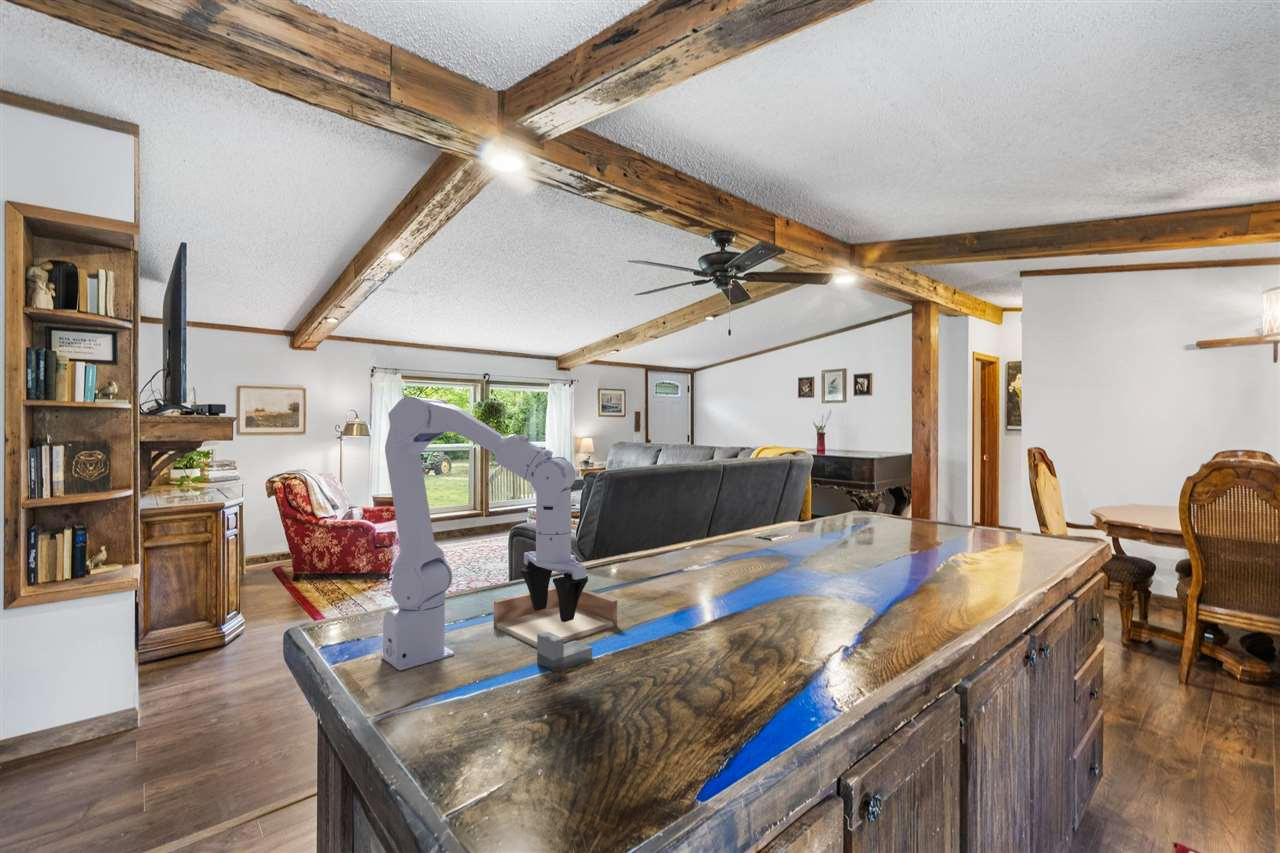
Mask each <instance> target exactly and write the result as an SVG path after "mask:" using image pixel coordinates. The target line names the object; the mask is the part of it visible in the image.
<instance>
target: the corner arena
mask: <svg viewBox="0 0 1280 853" xmlns="http://www.w3.org/2000/svg"><path fill="white" fill-rule="evenodd" d="M617 626H618V600H617V599H615V598H611V597H608V596H605V595H602V594H599V593H596V592H594V591H589V590H586V589H584V588H583V590H582V592H581V595H580V597H579V600H578V604H577V607H576V611H575V616H574V619H573V620H570V621H567V622H562V621H561V619H560V612H559V600H558V595H557V591H556V588H555V586H554V587H550V588H549V587H548V600H547V606H546V609H542V610H538V611H534V609H533V605H532V601H531V597H530V593H529V592H527V593H523V594H519V595H514V596H510V597H506V598H500V599H497V600H493V627H494V628H496V629H498V630H500V631H502V632H504V633H505V634H508V635H510V636H512V637H514V638H516V639H519V640H521V641H522V642H525V643H526V644H529V645H530V646H533V647H535V648H537V634H540V633H543V632H547V631H548V632H550V633H552V634H555V635H557V636H559V637H561V638H564V643H565V642H566V643H567V642H571V641H574V640H576V639H578V638H582V637H584V636H585V637H586V636H589V635H590V634H591V635H593V634H595V633H598V632H601V631H603V630H607V629H610V628H614V627H617Z"/></svg>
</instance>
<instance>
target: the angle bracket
mask: <svg viewBox="0 0 1280 853" xmlns="http://www.w3.org/2000/svg"><path fill="white" fill-rule="evenodd" d="M536 648H537V650H536V652H537V653H536V665H538V666H540V667H542V668H544V669H545V670H547V671H549V672H551V673H556V672H560V671H562V670H565V669H569V668H570V667H573V666H576V665H579V664H581V663H584V662H587V661H591V660H593V647H592V646H590V645H587V644H585V643H583V642H582V641H578V640H576V639H574V640H571V641H568V642H566V643H565V642H564V638H561V637H559V636H557V635H555V634H552V633H550V632H548V631H547V632H543V633H540V634H537V647H536Z"/></svg>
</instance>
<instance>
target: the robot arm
mask: <svg viewBox="0 0 1280 853" xmlns="http://www.w3.org/2000/svg"><path fill="white" fill-rule="evenodd" d="M388 420H389V429H388V434H387V437H386V441H385V445H384V452H385V453H384V454H385V458H386V465H387V466H386V467H387V471H388V478H389V484H390V490H391V496H392V502H393V508H394V515H395V516H394V517H395V521H396V529H397V534H398V539H399V540H398V541H399V546H400V547H399V548H400V552H399V554H398V555H397V557H396V559H395V561H394V563H393V565H392V569H393V570H392V571H393V577H392V582H391V586H390V592H391V597H392V598H393V601H394V602H395V603H396V604H397V605H398V606H397V607H396V608H394V609H390V610H388V611H386V612H384V616H383V621H382V623H383V624H382V654H381V655H380V656H381V658H382V659H383V660H385V661H386V662H387V663H388V664H390V665H392V666H393V667H394V668H395V669H397V670H398V671H403V670H407V669H409V668H413V667H417V666H421V665H424V664H429V663H432V662H435V661H438V660H442V659H447V658H449V657H453V656H454V655H455V652H454V651H453V650H451V649H449V648H448V647H447V646H445V644H446V642H445V638H446V637H445V636H446V635H445V634H446V633H445V630H446V629H445V628H446V626H445V625H446V623H445V622H446V619H445V618H446V610H445V609H446V591H448V589H450V587H451V585H452V582H453V571H452V569H451V567H450V565H449V564H448V563H447V560H446V558H445V557H446V556H445V552H444V550H442V548H440V547H439V546H438V544H436V542H435V537H434V531H433V526H432V525H433V524H432V521H431V520H432V519H431V513H430V507H429V501H428V495H427V494H428V493H427V490H426V482H425V477H424V469H423V464H422V457H421V455H422V453H423V452H424V451H425V449H426V448H427V447H428V446H429V445H430V444H431V442H433V441H435V440H436V439H438V438H439V437H441V436H442V435H444V434H445V433H449V432H450V433H455V434H457V435H459V436H460V437H463V438H464V439H466V440H468V441H470V442H472V443H474V444H476V445H477V446H480V447H482V448H484V449H486V450H488V451H490V452H492V453H493V455H494V458H495V462H496V464H497V465H499V466H501V467H503V468H504V469H506V470H507V471H510V472H511V473H512V474H515V475H516V476H517V477H519V478H521V479H523V480H525V481H527V482H528V483H530V484H531V488H532V489H533V490H534V491H535V492H536V495H535V496H536V499H535V500H536V502H535V550H532V551H526V552H524V553H523V564H524V565H527V566H526V567H523V568H521V569H520V570H519V571H520V574H521V576H522V578H523V580H524V582H525V584H526V585H527V589H528V593H530V597H531V601H532V605H533V609H534V611H538V610H542V609H546V606H547V600H548V589H549V586H550V581H551V577H552V574H553V572H556V573H559V574H562V575H563V576H559V577H555V578H552V583H553V585H554V587H555V588H556V591H557V595H558V600H559V612H560V619H561V621H562V622H567V621H570V620H573V619H574V616H575V611H576V607H577V604H578V600H579V597H580V595H581V592H582V590H583V589H584V588H585V587H586V584H587V583H588V582H589V576H588V575H587V566H586V565H585V564H583V563H581V562H579V561H577V560H576V559H577V558H576V555H574V554H572V489H571V487H572V486H573V485H574V482H575V481H576V470H575V467H574V465H573V464H572V462H570V461H569V460H568V459H567V458H566V457H564V456H555V457H553V454H554V452H553V451H551V450H550V449H546V450H544V449H542V448H540V447H539V446H537V445H535V444H534V443H532V442H530V441H529V440H530V437H529V436H527V435H525V434H520V435H518V434H515V433H514V434H513V433H512V434H510V435H507V436H505V435H503V434H502V433H500V432H499V431H497V430H496V429H494V428H492V427H491V426H489V425H488V424H486V423H485V422H483V421H481V419H478V418H477V417H475V416H474V415H472V414H470V413H469V412H467V411H465V410H464V409H463V408H461V407H460V406H458V405H455V404H452V403H449V402H448V401H447V400H445V399H442V398H433V399H432V398H424V397H417V396H414V395H413V396H410V395H408V396H405V397H403V398H401V399H400V400H399V401H398V402H397V403H396V404H395V405H394V406H393V408H392V409H391V410H390V411H389V412H388Z"/></svg>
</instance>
